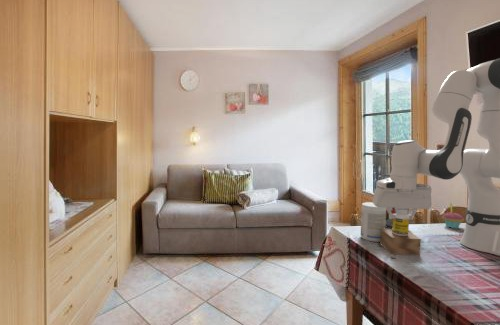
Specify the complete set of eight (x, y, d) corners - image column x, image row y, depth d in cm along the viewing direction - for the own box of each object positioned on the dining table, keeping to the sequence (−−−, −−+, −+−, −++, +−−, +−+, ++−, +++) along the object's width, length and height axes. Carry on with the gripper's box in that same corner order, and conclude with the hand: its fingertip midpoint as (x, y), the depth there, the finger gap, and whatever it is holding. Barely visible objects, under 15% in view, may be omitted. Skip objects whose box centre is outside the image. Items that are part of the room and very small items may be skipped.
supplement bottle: (392, 235, 103) (394, 209, 102) (391, 230, 108) (392, 206, 107) (409, 237, 101) (410, 211, 100) (406, 232, 106) (408, 208, 105)
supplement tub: (389, 239, 115) (391, 205, 114) (376, 244, 109) (378, 208, 108) (368, 233, 123) (370, 201, 122) (355, 237, 117) (356, 203, 116)
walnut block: (405, 244, 109) (406, 230, 109) (419, 255, 99) (420, 239, 99) (380, 243, 110) (381, 229, 110) (391, 253, 100) (392, 238, 100)
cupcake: (437, 224, 138) (439, 201, 137) (452, 224, 139) (454, 201, 138) (452, 230, 129) (453, 205, 128) (468, 229, 130) (470, 205, 129)
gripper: (426, 182, 105) (424, 217, 106) (372, 181, 107) (370, 216, 108) (436, 185, 99) (434, 222, 100) (379, 183, 100) (376, 220, 101)
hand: (400, 219), depth 104 cm, fingers closed on supplement bottle, 5 cm apart
